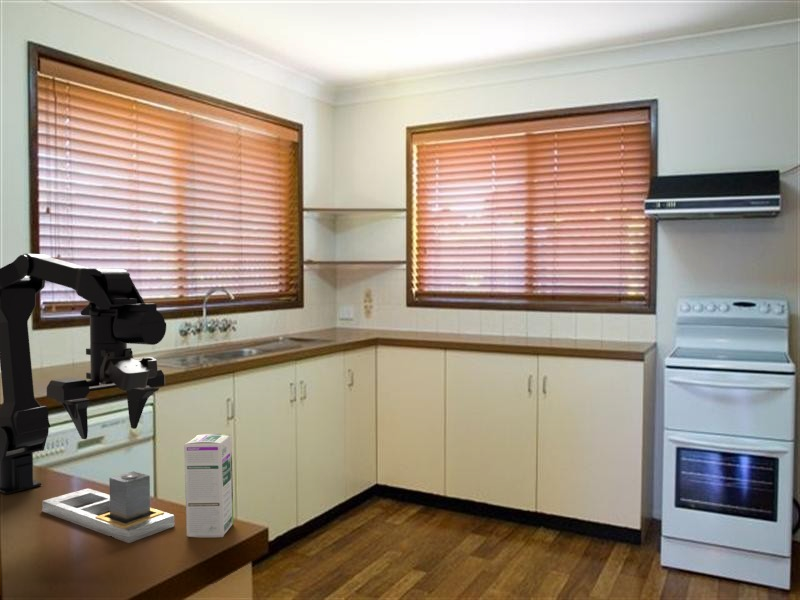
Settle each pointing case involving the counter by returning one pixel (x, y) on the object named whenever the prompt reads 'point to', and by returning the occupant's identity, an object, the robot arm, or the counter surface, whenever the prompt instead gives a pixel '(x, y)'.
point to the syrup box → (209, 485)
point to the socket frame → (105, 515)
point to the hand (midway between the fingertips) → (109, 433)
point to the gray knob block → (129, 497)
